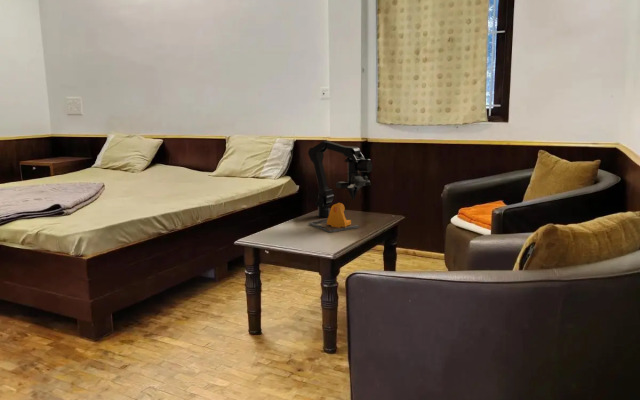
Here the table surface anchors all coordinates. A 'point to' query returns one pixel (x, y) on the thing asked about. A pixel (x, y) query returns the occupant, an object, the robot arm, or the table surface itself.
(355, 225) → the rail bay
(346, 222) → the bracket
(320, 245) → the table surface
